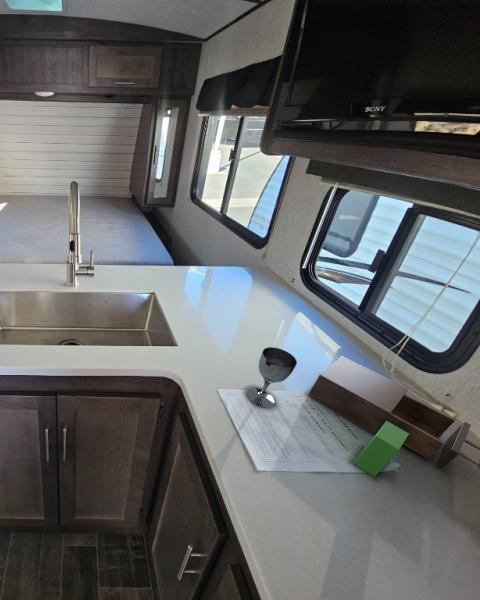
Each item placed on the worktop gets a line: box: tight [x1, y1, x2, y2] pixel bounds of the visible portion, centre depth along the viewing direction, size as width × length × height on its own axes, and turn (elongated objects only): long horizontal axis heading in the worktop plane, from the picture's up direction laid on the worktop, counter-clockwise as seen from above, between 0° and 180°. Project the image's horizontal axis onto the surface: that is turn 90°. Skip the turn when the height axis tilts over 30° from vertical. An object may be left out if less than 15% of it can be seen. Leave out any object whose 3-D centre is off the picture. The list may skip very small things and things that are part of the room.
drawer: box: [377, 393, 480, 471], centre depth 78 cm, size 19×13×6 cm
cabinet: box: [307, 355, 409, 436], centre depth 88 cm, size 16×15×8 cm
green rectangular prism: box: [353, 421, 409, 478], centre depth 72 cm, size 4×7×10 cm, turn 125°
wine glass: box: [246, 347, 298, 409], centre depth 87 cm, size 8×8×15 cm
